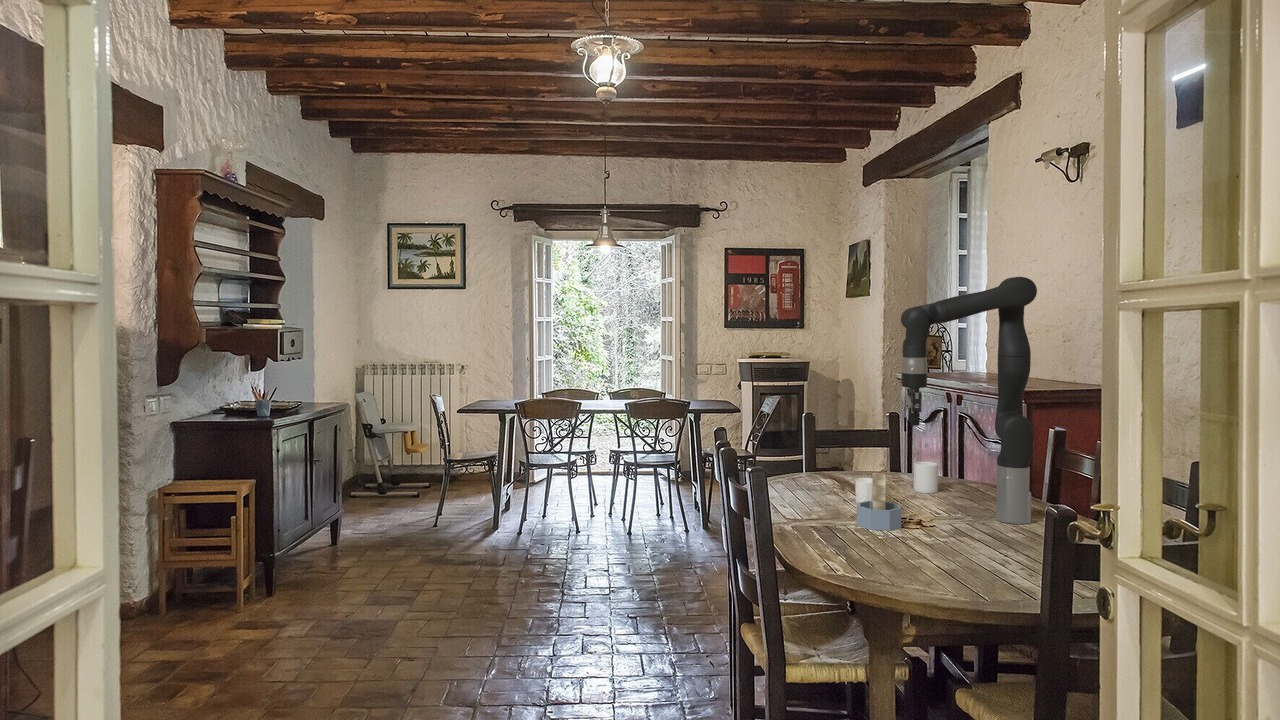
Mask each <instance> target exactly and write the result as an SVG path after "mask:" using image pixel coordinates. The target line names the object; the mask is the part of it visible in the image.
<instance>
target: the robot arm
mask: <svg viewBox="0 0 1280 720" xmlns="http://www.w3.org/2000/svg"><path fill="white" fill-rule="evenodd" d="M1037 293H1038V287H1037V285H1036V283H1035V282H1034V281H1033V280H1032V279H1030V278H1028V277H1027V276H1026V277H1025V276H1014V277H1008V278H1005V279H1004V280H1003V281H1001V282H1000V283H999V285H998V286H995V287H993V288H989V289H986V290H981V291H976V292H971V293H967V294H966V293H965V294H961V295H956V296H952V297H948V298H945V299H941V300H938V301H935V302H932V303H927V304H921V305H917V306H913V307H909V308H906V309H905V310H904V311H903V312H902V314H901V315H900V323H901V325H902V326H903V327H904V329H905V338H904V340H903V343H902V361H901V382H900V383H901V387H902V388H907V389H906V408H907V410H908V411H907V413H908V415H907V417H908V418H907V421H908V422H909V423H911V425H912V426H916V427H918V426H920V424H921V423H920V418H921V415H920V414H921V412H922V395H923V394H922V392H921V391H920V389H921V388H922V389H924V388H927V386H928V360H927V353H928V352H927V347H928V346H927V341H928V335H929V329H930V326H932V325H935V324H944V323H948V322H953V321H956V320H960V319H961V320H962V319H964V318H966V317H967V318H968V317H970V316H974V315H977V314H981V313H985V312H989V311H993V310H997V309H998V310H997V311H998V312H997V313H998V338H997V339H998V341H997V342H998V343H997V346H998V347H997V406H996V412H995V420H994V430H995V434H996V435H997V436H998V438H999V439H1001V441H1000V452H999V454H998V455H997V457H996V497H995V498H996V500H995V501H996V503H995V504H996V505H995V520H996V521H999V522H1000V523H1001V522H1002V523H1006V524H1014V525H1022V524H1025V525H1026V524H1031V522H1032V492H1031V491H1030V479H1031V478H1030V475H1031V474H1030V473H1031V460H1032V457H1033V449H1034V428H1033V424H1032V422H1031V421H1030V420H1029V419H1028V418H1027V417H1026V416H1024V405H1023V404H1024V403H1023V402H1024V394H1025V391H1026V387H1027V385H1028V382H1029V379H1030V378H1029V377H1030V372H1031V365H1032V363H1031V356H1032V355H1031V346H1030V341H1029V338H1028V334H1027V331H1026V328H1025V322H1024V319H1025V307H1026V306H1028V305H1030V304H1031V303H1032V302H1034V300H1035V298H1036V297H1037Z"/></svg>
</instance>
